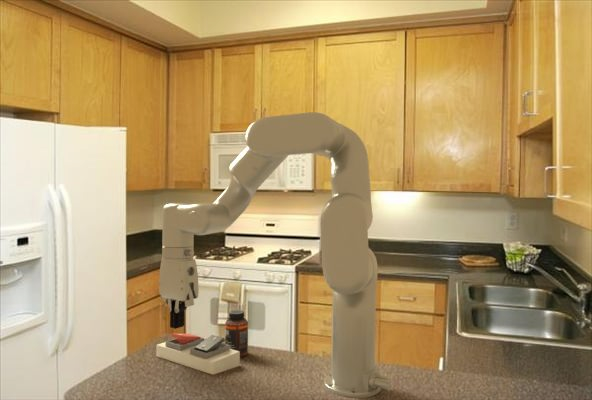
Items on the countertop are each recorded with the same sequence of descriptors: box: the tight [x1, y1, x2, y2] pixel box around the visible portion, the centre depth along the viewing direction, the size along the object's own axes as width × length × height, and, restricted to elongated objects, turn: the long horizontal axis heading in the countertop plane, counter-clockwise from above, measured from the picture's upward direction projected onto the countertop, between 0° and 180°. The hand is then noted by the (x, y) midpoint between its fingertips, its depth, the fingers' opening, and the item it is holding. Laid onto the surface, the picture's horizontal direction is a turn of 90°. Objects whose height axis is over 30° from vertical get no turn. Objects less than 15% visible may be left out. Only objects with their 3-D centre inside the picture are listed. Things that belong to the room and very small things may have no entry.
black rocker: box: [195, 334, 225, 353], centre depth 111 cm, size 4×6×2 cm, turn 145°
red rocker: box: [170, 332, 201, 344], centre depth 117 cm, size 4×6×2 cm, turn 145°
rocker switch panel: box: [155, 336, 241, 375], centre depth 114 cm, size 20×9×5 cm, turn 55°
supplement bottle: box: [224, 309, 249, 358], centre depth 121 cm, size 6×6×11 cm
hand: (177, 326), depth 115 cm, fingers closed
